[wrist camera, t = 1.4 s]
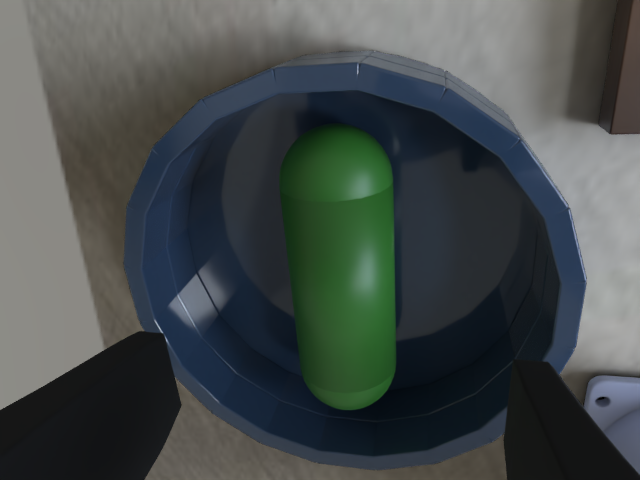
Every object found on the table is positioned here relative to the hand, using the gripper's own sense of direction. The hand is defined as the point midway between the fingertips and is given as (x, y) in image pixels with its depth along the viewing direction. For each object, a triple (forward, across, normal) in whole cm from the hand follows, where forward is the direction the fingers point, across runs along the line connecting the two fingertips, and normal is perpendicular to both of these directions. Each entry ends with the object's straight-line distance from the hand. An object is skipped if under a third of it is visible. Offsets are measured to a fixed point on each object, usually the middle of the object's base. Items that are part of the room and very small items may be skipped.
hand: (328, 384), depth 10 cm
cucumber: (+9, +1, +2) cm, 9 cm away
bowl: (+9, +1, +2) cm, 9 cm away
